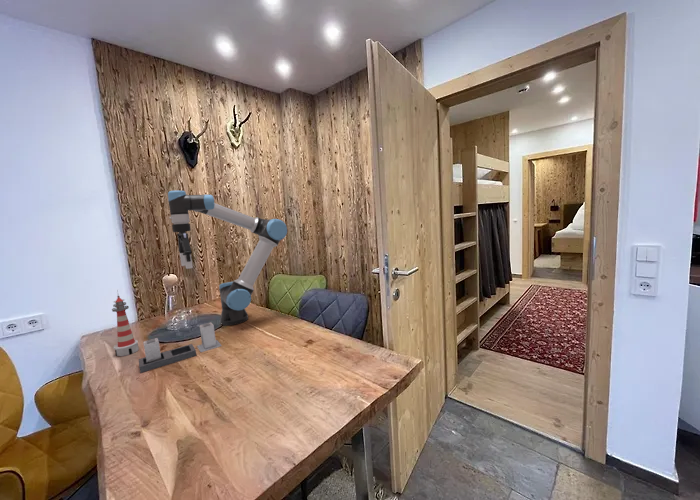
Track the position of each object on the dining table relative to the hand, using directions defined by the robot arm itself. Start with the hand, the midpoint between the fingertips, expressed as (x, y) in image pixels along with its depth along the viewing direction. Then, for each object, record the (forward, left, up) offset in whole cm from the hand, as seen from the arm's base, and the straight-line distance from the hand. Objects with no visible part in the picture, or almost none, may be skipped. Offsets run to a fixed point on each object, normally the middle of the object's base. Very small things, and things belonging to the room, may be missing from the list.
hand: (186, 267), depth 142 cm
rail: (+14, +18, -37) cm, 43 cm away
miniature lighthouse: (+28, -8, -37) cm, 47 cm away
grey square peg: (-2, +16, -36) cm, 40 cm away
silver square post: (+19, +18, -36) cm, 45 cm away
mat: (-2, +16, -37) cm, 40 cm away
